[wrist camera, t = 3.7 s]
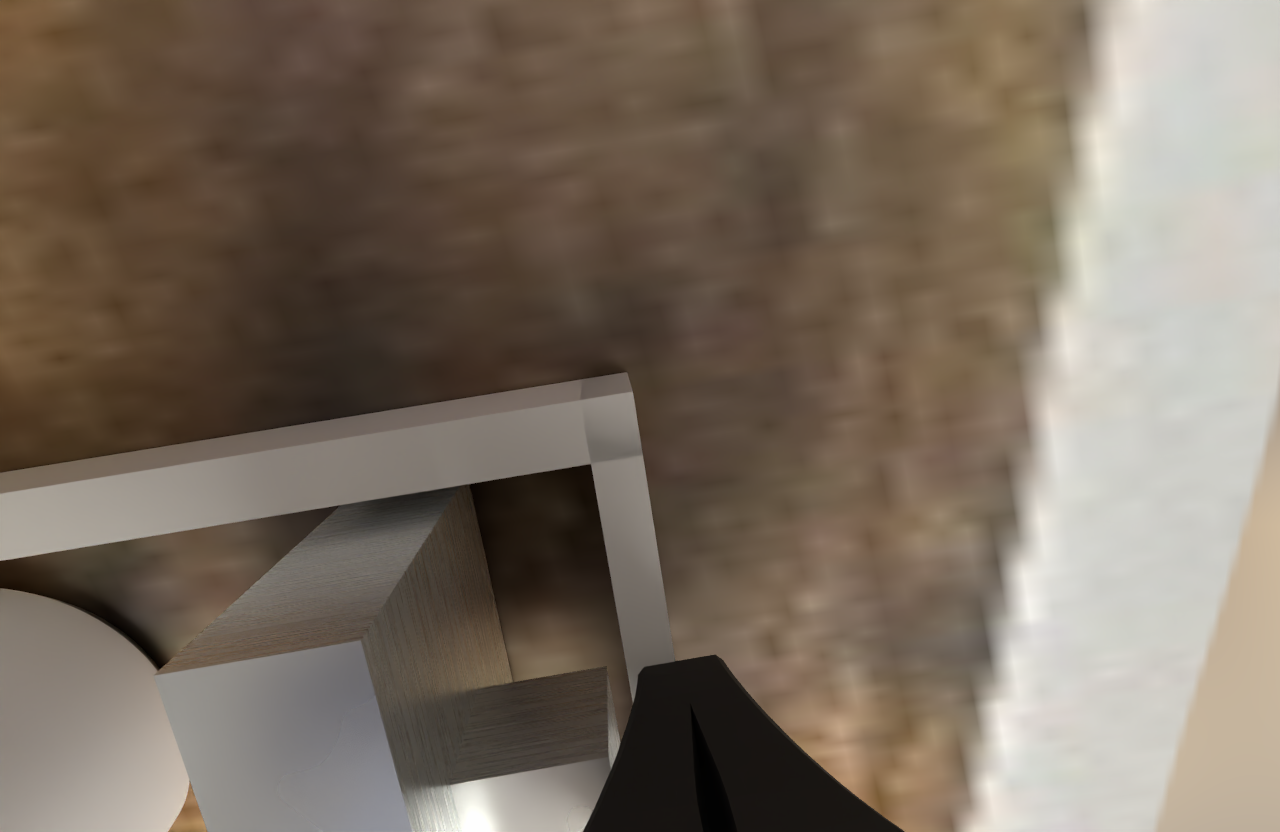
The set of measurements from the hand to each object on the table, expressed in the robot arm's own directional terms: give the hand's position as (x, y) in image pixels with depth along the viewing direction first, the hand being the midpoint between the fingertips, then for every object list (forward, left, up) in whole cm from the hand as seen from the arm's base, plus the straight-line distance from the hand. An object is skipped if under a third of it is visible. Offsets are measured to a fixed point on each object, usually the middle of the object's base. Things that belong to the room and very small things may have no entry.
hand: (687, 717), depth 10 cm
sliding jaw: (0, +3, -2) cm, 4 cm away
